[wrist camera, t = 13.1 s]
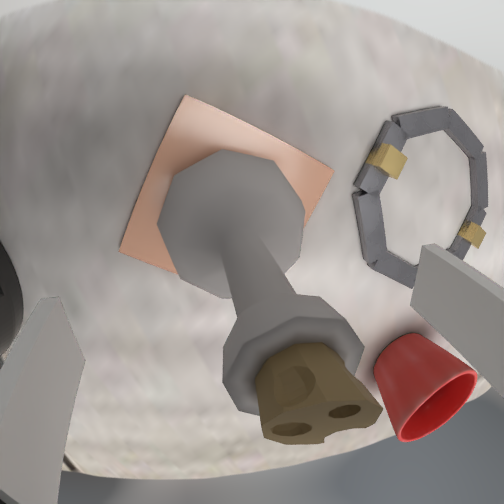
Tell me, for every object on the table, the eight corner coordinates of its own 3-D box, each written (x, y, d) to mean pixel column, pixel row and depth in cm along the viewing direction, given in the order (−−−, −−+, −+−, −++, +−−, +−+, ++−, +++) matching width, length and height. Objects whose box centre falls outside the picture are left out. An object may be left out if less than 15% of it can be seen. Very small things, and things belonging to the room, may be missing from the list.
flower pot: (346, 369, 32) (385, 433, 24) (419, 305, 31) (473, 356, 22) (379, 398, 37) (412, 449, 28) (439, 345, 35) (481, 390, 26)
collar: (321, 242, 25) (332, 253, 23) (408, 72, 21) (424, 70, 19) (432, 297, 31) (444, 307, 29) (497, 171, 26) (510, 175, 24)
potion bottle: (308, 202, 23) (505, 360, 7) (227, 286, 24) (296, 518, 8) (221, 118, 19) (379, 91, 3) (136, 217, 21) (42, 457, 4)
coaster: (120, 247, 22) (118, 251, 21) (185, 95, 19) (185, 94, 18) (259, 298, 26) (261, 303, 25) (330, 169, 23) (334, 170, 22)
